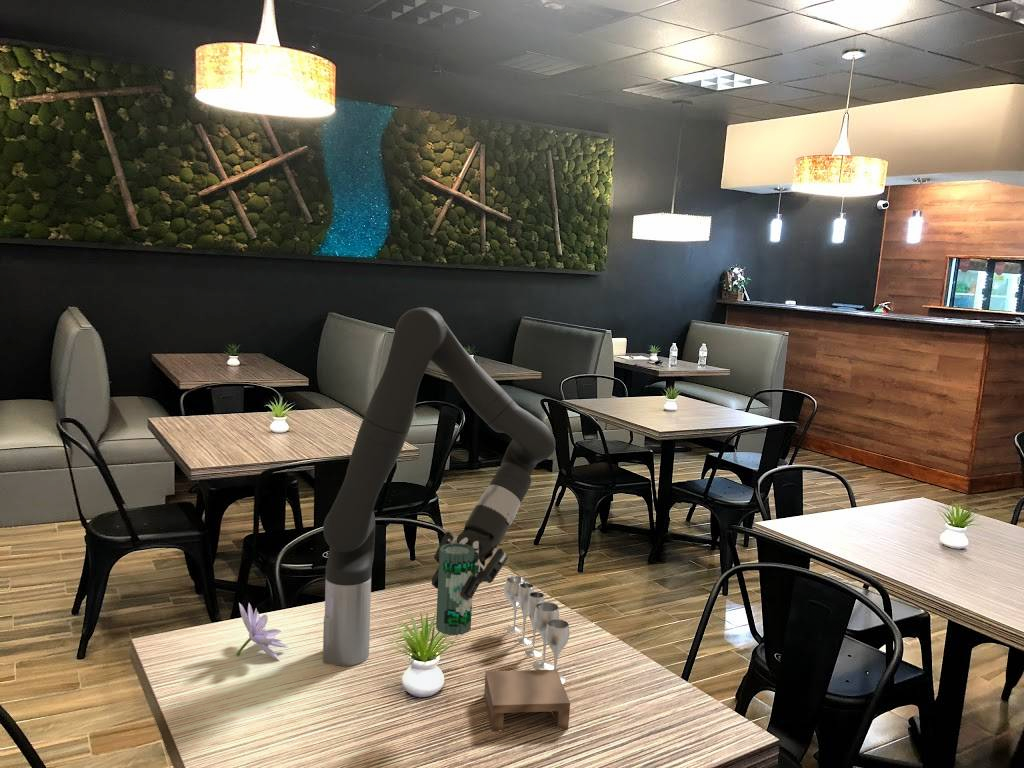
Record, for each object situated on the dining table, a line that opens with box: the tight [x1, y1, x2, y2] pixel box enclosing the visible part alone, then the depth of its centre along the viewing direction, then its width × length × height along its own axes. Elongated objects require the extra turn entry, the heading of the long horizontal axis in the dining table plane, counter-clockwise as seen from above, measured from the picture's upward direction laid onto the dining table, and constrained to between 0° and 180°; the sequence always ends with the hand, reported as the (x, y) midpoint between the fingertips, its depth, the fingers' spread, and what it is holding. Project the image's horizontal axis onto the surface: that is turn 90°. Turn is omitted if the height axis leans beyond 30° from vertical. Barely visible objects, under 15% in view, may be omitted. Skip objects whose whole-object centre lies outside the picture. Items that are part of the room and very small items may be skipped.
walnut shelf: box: [483, 669, 571, 732], centre depth 150 cm, size 14×12×5 cm
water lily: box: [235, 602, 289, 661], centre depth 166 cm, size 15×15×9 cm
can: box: [435, 543, 475, 636], centre depth 145 cm, size 6×6×15 cm
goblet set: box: [503, 575, 570, 684], centre depth 172 cm, size 28×6×13 cm, turn 21°
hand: (449, 592), depth 144 cm, fingers closed on can, 6 cm apart
